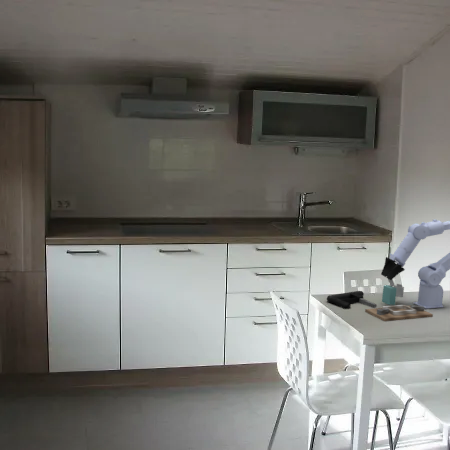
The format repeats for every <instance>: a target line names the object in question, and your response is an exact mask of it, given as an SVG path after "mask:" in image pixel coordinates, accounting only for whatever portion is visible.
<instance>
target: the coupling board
mask: <svg viewBox="0 0 450 450" xmlns="http://www.w3.org/2000/svg"><path fill="white" fill-rule="evenodd" d="M364 310H365V311H364V312H365V313H367V314H368V315H370V316H372V317H375V318H377V319H380V320H381V321H384V322H389V321H400V320H401V321H402V320H411V319H412V320H413V319H421V318H422V319H423V318H432V317H433V316H434V314H433V313H430V312H428V311H426V310H425V308H424V306H418V305H407V304H397V305H396V304H395V305H386V306H385V305H384V306H382V307H376V308H364Z"/></svg>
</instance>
